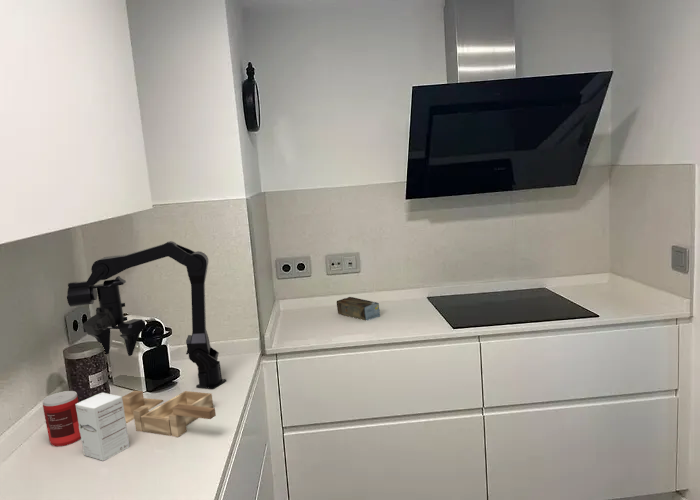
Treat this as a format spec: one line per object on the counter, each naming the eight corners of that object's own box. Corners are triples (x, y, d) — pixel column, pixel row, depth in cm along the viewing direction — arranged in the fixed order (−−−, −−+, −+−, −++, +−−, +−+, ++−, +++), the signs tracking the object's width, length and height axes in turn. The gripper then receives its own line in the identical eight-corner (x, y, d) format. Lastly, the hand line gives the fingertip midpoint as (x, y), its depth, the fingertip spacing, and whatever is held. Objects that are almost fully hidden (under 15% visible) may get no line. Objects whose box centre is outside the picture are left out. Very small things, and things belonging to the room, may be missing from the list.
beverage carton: (365, 321, 218) (364, 305, 217) (336, 314, 233) (335, 299, 232) (380, 316, 223) (379, 300, 222) (351, 310, 238) (350, 295, 237)
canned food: (75, 429, 142) (68, 388, 140) (90, 436, 137) (83, 394, 135) (44, 442, 136) (36, 399, 134) (58, 450, 131) (50, 405, 129)
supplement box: (82, 456, 127) (73, 403, 125) (111, 441, 133) (103, 391, 131) (102, 462, 123) (93, 408, 121) (131, 446, 129) (122, 395, 127)
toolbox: (180, 404, 151) (178, 386, 151) (220, 408, 146) (218, 389, 145) (136, 430, 137) (132, 410, 136) (178, 437, 131) (175, 416, 131)
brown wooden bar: (179, 411, 133) (178, 404, 133) (215, 415, 129) (214, 408, 128) (173, 414, 132) (172, 407, 131) (210, 419, 127) (209, 411, 127)
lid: (139, 401, 159) (136, 384, 158) (163, 403, 155) (161, 386, 154) (94, 426, 144) (91, 408, 143) (120, 429, 140) (117, 410, 140)
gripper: (62, 308, 153) (71, 362, 155) (110, 309, 145) (120, 366, 147) (95, 298, 163) (104, 349, 165) (142, 299, 155) (151, 352, 157)
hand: (118, 354), depth 159 cm, fingers open, 9 cm apart
